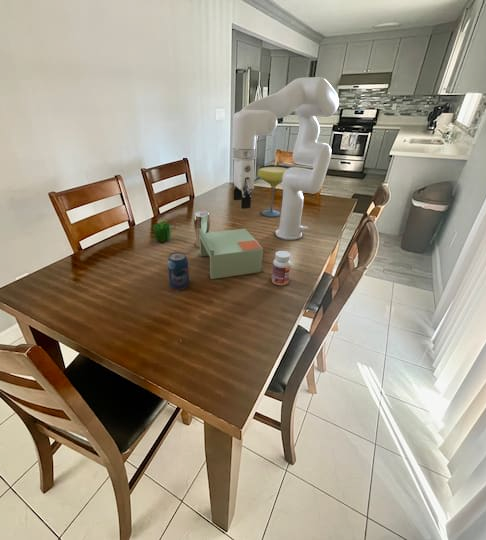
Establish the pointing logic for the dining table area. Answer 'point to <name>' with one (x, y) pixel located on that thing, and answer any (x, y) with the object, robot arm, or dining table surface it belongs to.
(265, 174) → the cocktail glass
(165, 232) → the bell pepper
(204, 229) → the beer glass
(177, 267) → the soda can
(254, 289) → the dining table surface
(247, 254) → the shelf
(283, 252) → the pill bottle
